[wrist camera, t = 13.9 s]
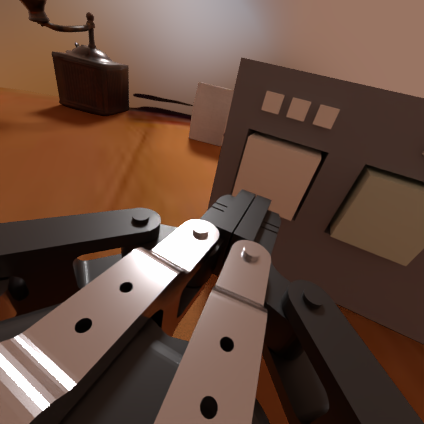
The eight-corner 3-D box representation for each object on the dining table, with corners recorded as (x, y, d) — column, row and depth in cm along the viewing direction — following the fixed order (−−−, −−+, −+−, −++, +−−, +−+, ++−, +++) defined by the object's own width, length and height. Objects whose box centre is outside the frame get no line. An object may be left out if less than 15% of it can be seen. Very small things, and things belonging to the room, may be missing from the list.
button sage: (330, 236, 14) (370, 174, 12) (329, 206, 18) (359, 154, 15) (405, 266, 13) (466, 205, 11) (388, 228, 17) (431, 175, 14)
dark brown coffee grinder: (88, 99, 55) (78, 3, 45) (130, 110, 54) (129, 14, 44) (34, 107, 42) (3, -26, 32) (88, 121, 41) (73, -10, 32)
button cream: (231, 197, 16) (248, 136, 14) (248, 177, 20) (264, 126, 17) (290, 220, 15) (321, 159, 12) (297, 195, 19) (321, 143, 16)
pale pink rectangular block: (220, 146, 44) (232, 91, 39) (188, 138, 45) (196, 82, 39) (223, 141, 48) (235, 89, 42) (193, 134, 48) (201, 81, 42)
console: (199, 242, 20) (239, 57, 12) (230, 204, 27) (269, 67, 19) (491, 379, 15) (891, 202, 7) (439, 288, 21) (614, 146, 14)
